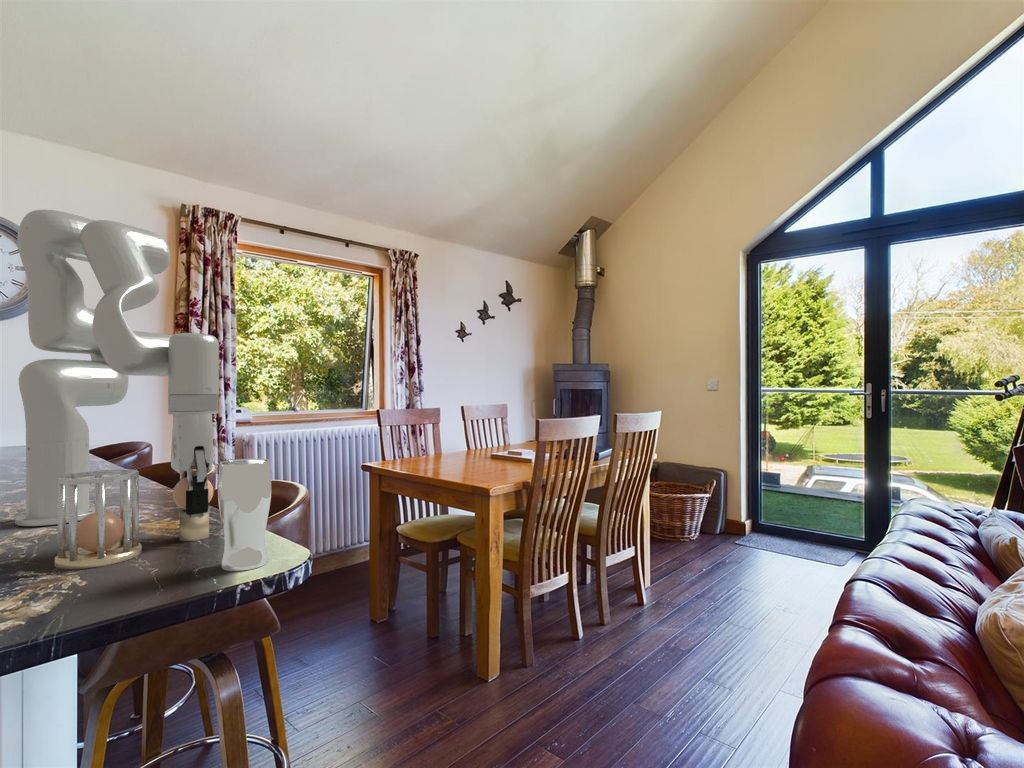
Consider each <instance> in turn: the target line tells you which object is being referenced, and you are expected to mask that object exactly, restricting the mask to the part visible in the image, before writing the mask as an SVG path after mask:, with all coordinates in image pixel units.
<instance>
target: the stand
mask: <svg viewBox="0 0 1024 768" xmlns="http://www.w3.org/2000/svg"><path fill="white" fill-rule="evenodd" d="M210 513H211V509H210V507H209V506H208V512H206V513H200V514H192V515H187V514H186V510H183V509H179V510H178V519H179V524H178V525H179V529H178V530H179V531H178V532H179V535H178V537H179V539H178V540H179V541H181V542H194V541H199V540H204V539H208V538H209V537H210Z"/></svg>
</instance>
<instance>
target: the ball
mask: <svg viewBox="0 0 1024 768" xmlns="http://www.w3.org/2000/svg"><path fill="white" fill-rule="evenodd" d="M122 536H123V521H122V519H121V518H120V515H117V514H116V513H114V512H113V511H108V510H107V511H106V510H105V550H108V549H110V548H112V547H113V546H115V545H116V544H117V543H118V542H119V541H120V539H121V538H122ZM78 547H81V548H82V549H84V550H86V551H90V552H97V512H94V513H91V514H89V515H87V516H86V517H84V518H83V519H82V520H79V521H78Z"/></svg>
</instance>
